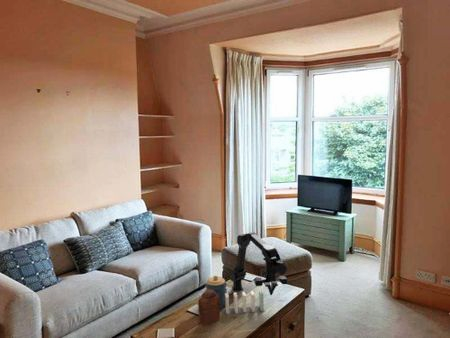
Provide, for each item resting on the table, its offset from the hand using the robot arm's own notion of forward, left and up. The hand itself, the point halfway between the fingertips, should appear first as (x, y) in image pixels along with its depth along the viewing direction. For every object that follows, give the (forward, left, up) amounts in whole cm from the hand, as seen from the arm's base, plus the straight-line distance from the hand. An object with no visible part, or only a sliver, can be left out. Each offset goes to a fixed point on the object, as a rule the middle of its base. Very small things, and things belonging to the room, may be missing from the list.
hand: (270, 294), depth 201 cm
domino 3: (0, -16, -8) cm, 18 cm away
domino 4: (0, -11, -8) cm, 14 cm away
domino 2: (0, -21, -8) cm, 22 cm away
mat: (0, -17, -8) cm, 19 cm away
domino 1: (0, -26, -8) cm, 27 cm away
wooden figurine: (+9, -37, -9) cm, 39 cm away
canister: (-11, -31, -9) cm, 34 cm away
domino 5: (0, -6, -8) cm, 10 cm away
